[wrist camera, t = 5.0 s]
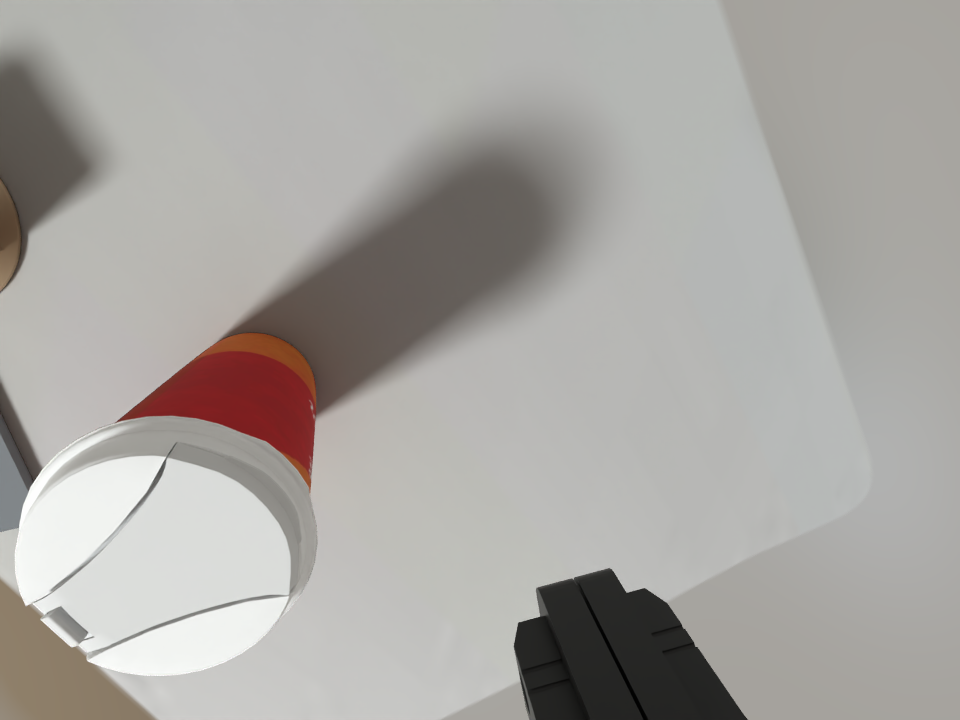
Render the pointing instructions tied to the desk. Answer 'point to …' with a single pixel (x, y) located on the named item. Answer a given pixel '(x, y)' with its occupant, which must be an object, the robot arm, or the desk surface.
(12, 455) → the slate strip
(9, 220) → the cork coaster
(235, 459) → the paper cup
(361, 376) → the desk surface
